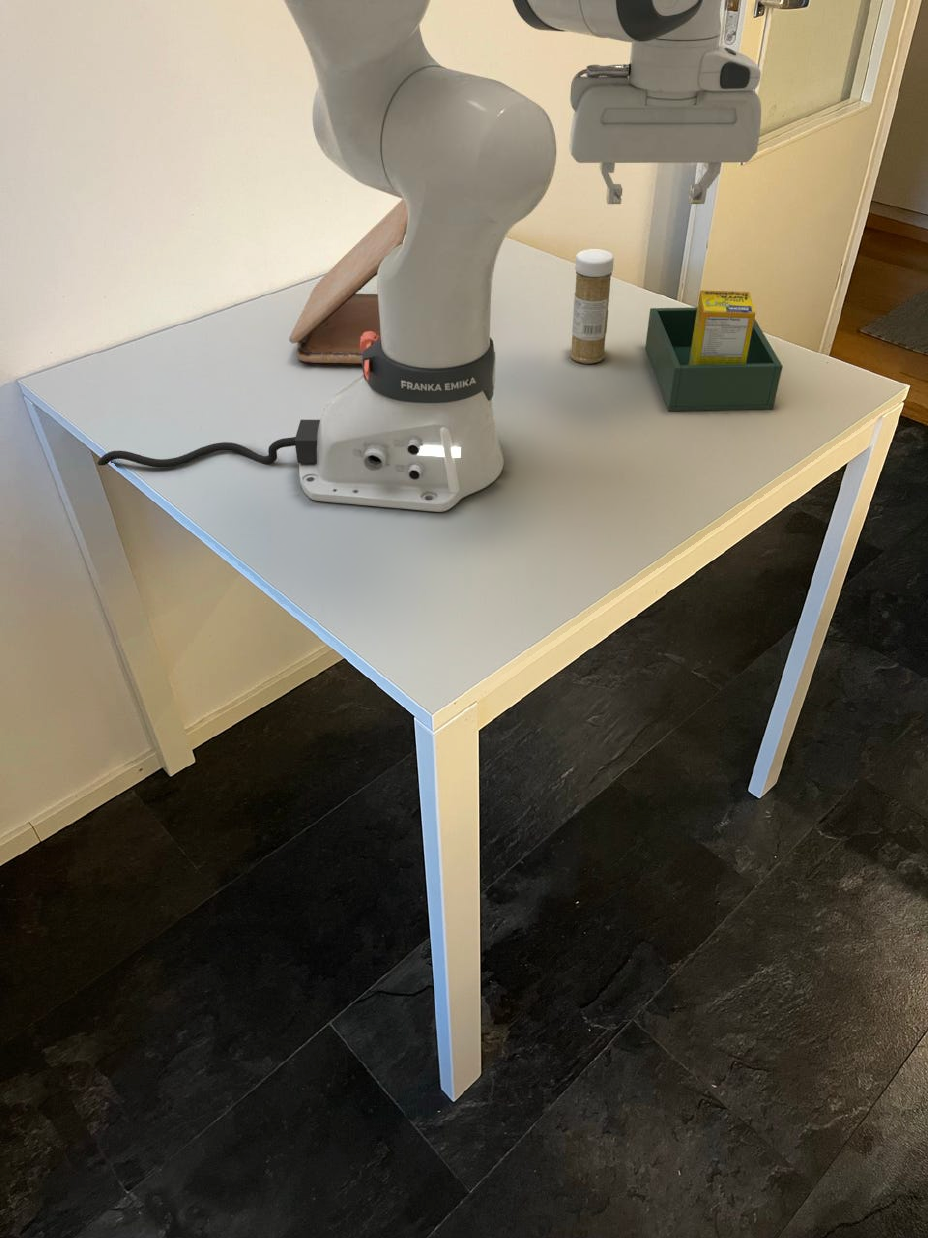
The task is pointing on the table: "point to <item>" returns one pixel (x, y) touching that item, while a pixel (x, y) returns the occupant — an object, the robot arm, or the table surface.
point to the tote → (708, 368)
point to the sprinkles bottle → (591, 305)
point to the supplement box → (722, 328)
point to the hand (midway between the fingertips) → (655, 202)
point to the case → (348, 297)
